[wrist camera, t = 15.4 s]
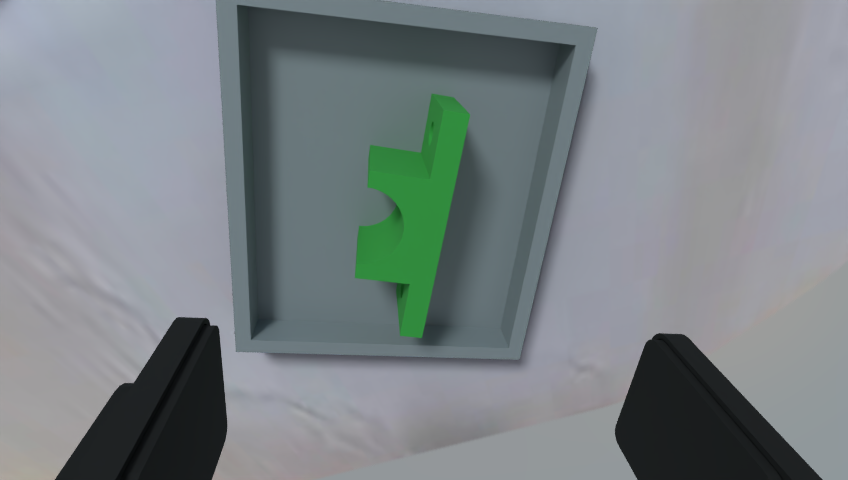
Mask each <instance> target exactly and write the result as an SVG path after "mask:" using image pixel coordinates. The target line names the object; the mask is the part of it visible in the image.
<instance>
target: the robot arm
mask: <svg viewBox="0 0 848 480" xmlns="http://www.w3.org/2000/svg"><path fill="white" fill-rule="evenodd" d="M226 434H227V415H226V403H225V392H224V381H223V369H222V358H221V347H220V335H219V328H218V326H210V322H209V320H208V319H207V318H185V317H178V318H176V319H175V320H174V321H173V323H172V325H171V326H170V328H169V329H168V331H167V332H166V334H165V335H164V337H163V339H162V340H161V342H160V343H159V345H158V346H157V348H156V349H155V351H154V353H153V354H152V356H151V357H150V359H149V360H148V362H147V364H146V365H145V367H144V368H143V370H142V371H141V373H140V374H139V376H138V378H137V379H136V381H135V382H134V383H124V384H122V385H121V386H119V387H118V388H117V390H116V391H115V392H114V393H113V395H112V396H111V398H110V399H109V401H108V402H107V404H106V405H105V407H104V408H103V410H102V411H101V412H100V414H99V415H98V417H97V418H96V420H95V421H94V423H93V424H92V426H91V427H90V429H89V430H88V432H87V433H86V435H85V436H84V438H83V439H82V440H81V442H80V443H79V445H78V446H77V448H76V449H75V451H74V452H73V454H72V455H71V457H70V458H69V460H68V461H67V463H66V464H65V466H64V467H63V468H62V470H61V471H60V473H59V474H58V476H57V477H56V479H55V480H212V477H213V474H214V472H215V469H216V466H217V463H218V460H219V457H220V454H221V451H222V448H223V446H224V442H225V439H226ZM615 436H616V440H617V443H618V445H619V447H620V449H621V450H622V452H623V454H624V456H625V457H626V459H627V461H628V463H629V465H630V467H631V469H632V470H633V472H634V474H635V476H636V477H637V479H638V480H822V479H821V478H820V477H819V475H818V474H817V473H816V472H815V471H814V470H813V469H812V468H811V467H810V466H809V465H808V464H807V463H806V462H805V461H804V460H803V459H802V458H801V456H800V455H799V454H798V453H797V452H796V451H795V450H794V449H793V448H792V447H791V446H790V445H789V444H788V443H787V442H786V441H785V440H784V439H783V438H782V436H781V435H780V434H779V433H778V432H777V431H776V430H775V429H774V428H773V427H772V426H771V425H770V424H769V423H768V422H767V421H766V419H765V418H763V416H762V415H761V414H760V413H759V412H758V411H757V410H756V409H755V408H754V407H753V406H752V405H751V404H750V403H749V402H748V401H747V399H745V397H744V396H743V395H742V394H741V393H740V392H739V391H738V390H737V389H736V388H735V387H734V386H733V385H732V384H731V383H730V381H729V380H728V379H727V378H726V377H725V376H724V375H723V374H722V373H721V372H720V371H719V370H718V369H717V368H716V367H715V366H714V365H713V364H712V362H710V360H709V359H708V358H707V357H706V356H705V355H704V354H703V353H702V352H701V351H700V350H699V349H698V348H697V347H696V346H695V344H694V343H693V342H692V341H691V340H690V339H689V338H688V337H686V336H685V335H682V334H660V333H659V334H656V335H655V336H654V337H653V338H652V340H648V341H647V342H646V344H645V346H644V349H643V352H642V355H641V357H640V360H639V363H638V366H637V369H636V371H635V374H634V377H633V380H632V382H631V385H630V388H629V391H628V394H627V396H626V399H625V402H624V405H623V408H622V410H621V413H620V416H619V418H618V421H617V424H616V428H615Z"/></svg>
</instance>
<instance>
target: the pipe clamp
mask: <svg viewBox="0 0 848 480" xmlns="http://www.w3.org/2000/svg"><path fill="white" fill-rule="evenodd" d="M469 118H470V114H469V113H468V112H467V111H466V109H465V108H464V107H463V106H462V105H461V104H460V103H459V102H458V101H457V100H456V99H455V98H454V97H449V96H443V95H438V94H432V95H431V100H430V106H429V111H428V117H427V122H426V128H425V133H424V139H423V144H422V150H421V153H420V152H413V151H407V150H400V149H394V148H387V147H381V146H374V145H370V150H369V157H368V186H367V187H368V188H373V189H376V190H379V191H381V192H383V193H385V194H386V195H388V196H389V197H390V198H391V199H392V200H393V201H394V202H395V203H396V204H397V205H396V207H395V209H394V211H393V212H392V213H391V215H390V216H389V217H387V218H386V219H385V220H383V221H382V222H380V223H377V224H374V225H370V226H359V230H358V237H357V251H356V266H355V278H358V279H367V280H376V281H385V282H394V283H397V288H396V295H397V307H398V319H399V330H400V336H406V337H417V338H422V336H423V331H424V326H425V322H426V317H427V313H428V308H429V303H430V299H431V294H432V289H433V285H434V280H435V276H436V271H437V266H438V262H439V257H440V252H441V248H442V243H443V239H444V234H445V229H446V225H447V220H448V215H449V211H450V206H451V201H452V197H453V192H454V188H455V183H456V178H457V174H458V169H459V164H460V160H461V155H462V151H463V146H464V141H465V137H466V132H467V127H468V123H469Z"/></svg>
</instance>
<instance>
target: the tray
mask: <svg viewBox="0 0 848 480" xmlns="http://www.w3.org/2000/svg"><path fill="white" fill-rule="evenodd" d="M216 13H217V30H218V48H219V65H220V82H221V100H222V117H223V134H224V152H225V169H226V187H227V204H228V221H229V239H230V256H231V274H232V291H233V308H234V326H235V343H236V352H261V353H297V354H333V355H369V356H405V357H441V358H477V359H512V360H520V355H521V351H522V347H523V343H524V338H525V334H526V330H527V326H528V321H529V317H530V313H531V309H532V304H533V300H534V296H535V292H536V287H537V283H538V279H539V275H540V270H541V266H542V262H543V258H544V253H545V249H546V245H547V241H548V237H549V232H550V228H551V224H552V220H553V215H554V211H555V207H556V203H557V198H558V194H559V190H560V186H561V181H562V177H563V173H564V169H565V164H566V160H567V156H568V152H569V147H570V143H571V139H572V135H573V130H574V126H575V122H576V118H577V113H578V109H579V105H580V101H581V97H582V92H583V88H584V84H585V80H586V75H587V71H588V67H589V63H590V58H591V54H592V50H593V46H594V41H595V37H596V33H597V29H598V28H596V27H588V26H580V25H572V24H564V23H556V22H548V21H540V20H532V19H524V18H516V17H508V16H500V15H492V14H484V13H476V12H468V11H460V10H452V9H445V8H437V7H429V6H421V5H413V4H405V3H397V2H389V1H381V0H216ZM432 94H438V95H443V96H449V97H454V98H455V99H456V100H457V101H458V102H459V103H460V104H461V105H462V106H463V107H464V108H465V109H466V111H467V112H468V113H469V114H470V118H469V123H468V127H467V132H466V137H465V141H464V146H463V151H462V155H461V160H460V164H459V169H458V174H457V178H456V183H455V188H454V192H453V197H452V201H451V206H450V211H449V215H448V220H447V225H446V229H445V234H444V239H443V243H442V248H441V252H440V257H439V262H438V266H437V271H436V276H435V280H434V285H433V289H432V294H431V299H430V303H429V308H428V313H427V317H426V322H425V326H424V331H423V336H422V338H417V337H406V336H400V330H399V319H398V307H397V295H396V288H397V283H394V282H385V281H376V280H367V279H358V278H355V266H356V251H357V237H358V230H359V226H370V225H374V224H377V223H380V222H382V221H383V220H385V219H386V218H387V217H389V216H390V215H391V213H392V212H393V211H394V209H395V207H396V205H397V204H396V203H395V202H394V201H393V200H392V199H391V198H390V197H389V196H388V195H386V194H385V193H383V192H381V191H379V190H376V189H373V188H368V187H367V186H368V157H369V150H370V145H374V146H381V147H387V148H394V149H400V150H407V151H413V152H420V153H421V150H422V144H423V139H424V133H425V128H426V122H427V117H428V111H429V106H430V100H431V95H432Z"/></svg>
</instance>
